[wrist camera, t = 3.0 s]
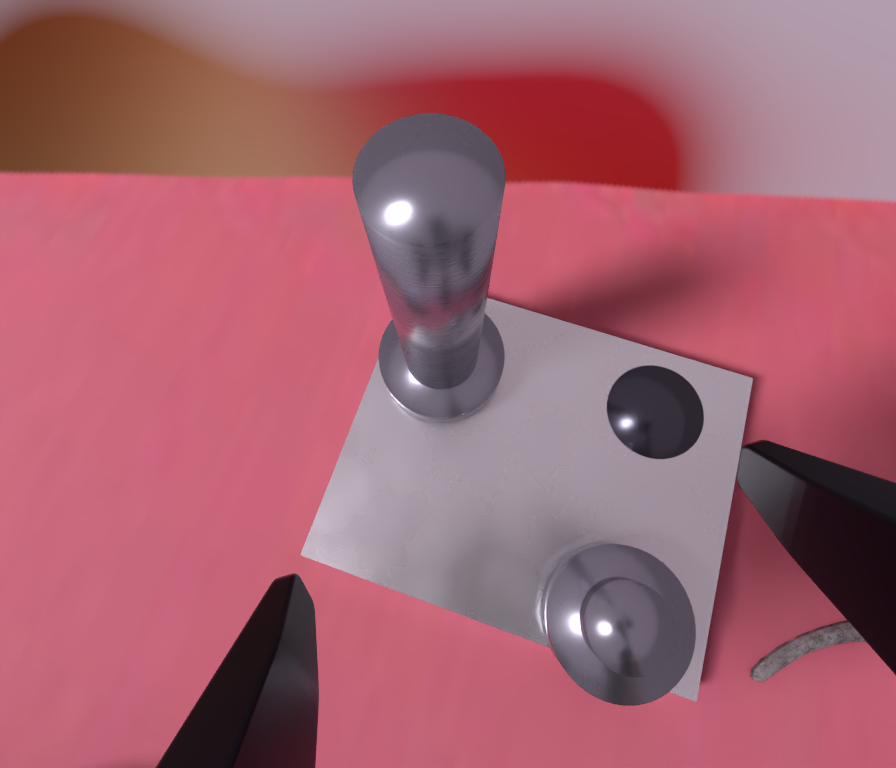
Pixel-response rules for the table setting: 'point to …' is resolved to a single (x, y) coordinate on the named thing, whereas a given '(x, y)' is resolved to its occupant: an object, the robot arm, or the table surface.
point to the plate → (541, 477)
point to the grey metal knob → (618, 622)
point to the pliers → (803, 648)
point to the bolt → (434, 260)
